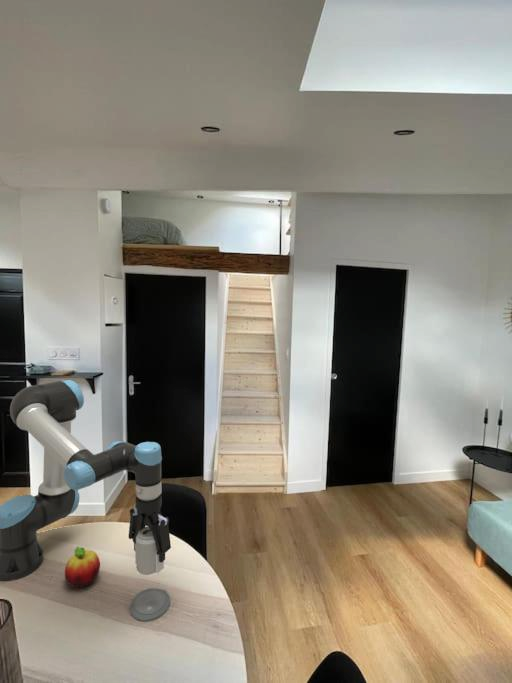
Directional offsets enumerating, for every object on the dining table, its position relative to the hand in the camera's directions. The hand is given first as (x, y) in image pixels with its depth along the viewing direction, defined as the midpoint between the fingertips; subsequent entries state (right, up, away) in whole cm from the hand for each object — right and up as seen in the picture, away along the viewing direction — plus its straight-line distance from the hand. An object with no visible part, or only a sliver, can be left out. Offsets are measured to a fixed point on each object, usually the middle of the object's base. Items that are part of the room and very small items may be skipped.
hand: (149, 565), depth 115 cm
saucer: (0, -13, +1) cm, 13 cm away
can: (0, -1, 0) cm, 1 cm away
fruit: (-26, -12, +11) cm, 30 cm away
